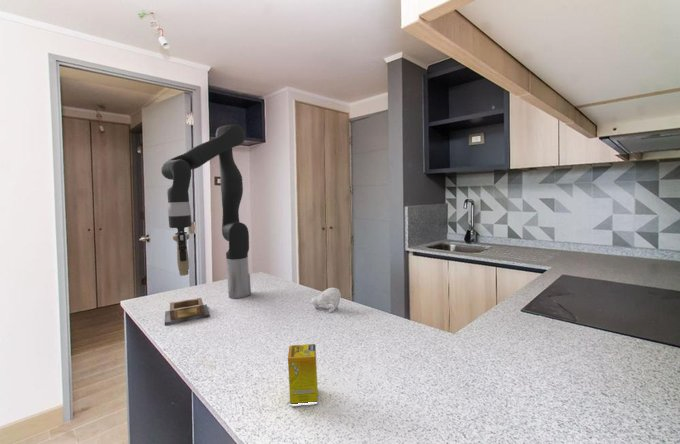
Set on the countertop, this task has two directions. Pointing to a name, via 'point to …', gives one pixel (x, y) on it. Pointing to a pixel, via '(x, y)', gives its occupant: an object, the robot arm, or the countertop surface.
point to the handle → (182, 265)
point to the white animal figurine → (327, 299)
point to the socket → (186, 311)
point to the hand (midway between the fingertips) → (183, 259)
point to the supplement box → (302, 373)
